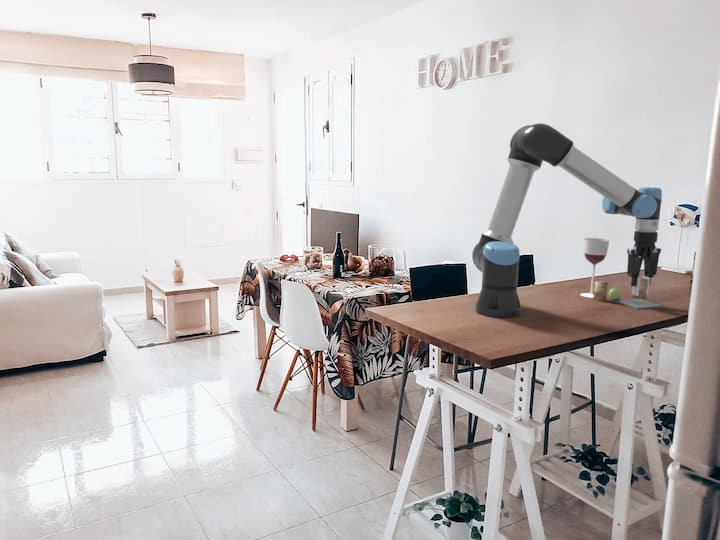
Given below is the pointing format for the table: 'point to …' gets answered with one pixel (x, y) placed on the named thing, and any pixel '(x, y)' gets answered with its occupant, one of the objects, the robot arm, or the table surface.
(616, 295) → the lime
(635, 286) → the robot arm
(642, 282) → the cork
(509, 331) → the table surface
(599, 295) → the cork
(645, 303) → the coaster
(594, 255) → the wineglass
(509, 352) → the table surface
